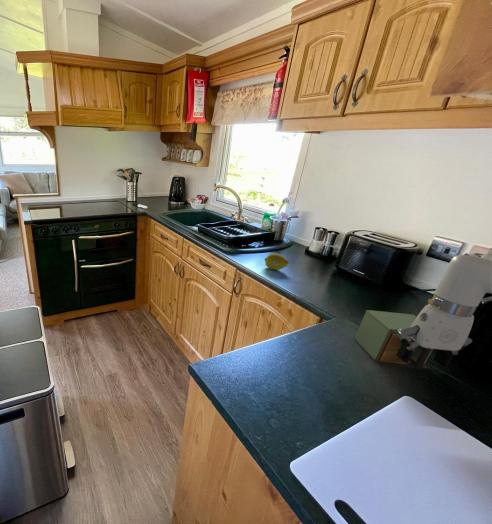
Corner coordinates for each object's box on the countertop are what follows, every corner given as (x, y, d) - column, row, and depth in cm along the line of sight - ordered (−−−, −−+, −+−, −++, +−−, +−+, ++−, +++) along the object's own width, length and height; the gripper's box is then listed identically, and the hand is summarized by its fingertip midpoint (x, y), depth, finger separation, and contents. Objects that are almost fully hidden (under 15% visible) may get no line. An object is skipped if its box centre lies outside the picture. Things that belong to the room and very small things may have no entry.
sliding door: (421, 378, 77) (438, 349, 74) (394, 375, 78) (409, 346, 74) (405, 363, 83) (420, 335, 79) (379, 360, 83) (393, 333, 79)
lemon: (260, 268, 145) (264, 253, 142) (265, 264, 151) (269, 249, 148) (282, 275, 139) (287, 259, 136) (287, 270, 144) (291, 255, 141)
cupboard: (429, 369, 82) (447, 337, 78) (378, 364, 83) (394, 332, 79) (398, 343, 93) (413, 314, 89) (354, 338, 94) (366, 309, 89)
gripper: (427, 310, 67) (397, 367, 73) (505, 317, 66) (468, 375, 72) (402, 294, 74) (377, 348, 80) (473, 301, 73) (441, 355, 79)
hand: (420, 361), depth 76 cm, fingers open, 9 cm apart
